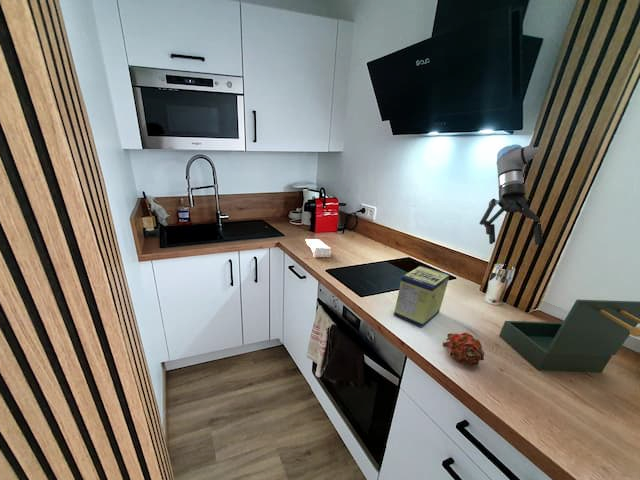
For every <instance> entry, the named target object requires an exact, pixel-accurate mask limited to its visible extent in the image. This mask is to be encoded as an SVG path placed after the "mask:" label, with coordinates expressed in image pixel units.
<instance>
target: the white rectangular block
mask: <svg viewBox="0 0 640 480" xmlns="http://www.w3.org/2000/svg"><path fill="white" fill-rule="evenodd" d="M305 244H306V245H307V246H308V247H309V249H310V250H311V252H312V256H313V258H330V257H331V255H332V250H331V247H330V246H328V245H327V244H326V243H325V242H323V241H322V240H321V239H320V238H305Z"/></svg>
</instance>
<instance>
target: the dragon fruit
mask: <svg viewBox="0 0 640 480" xmlns="http://www.w3.org/2000/svg"><path fill="white" fill-rule="evenodd" d="M445 341H446V342H445ZM445 341H442V347H443V348H447V349H448V350H450V352H449V356H450V357H451V358H454V359H457V360H458V361H459V363H462V364H465V365H467V364H470V365H471V366H473V367H475V366H479V364H480V361H485V352H484V350H483V345H482V343H481V342H480V340H479V339H477V338H475V337H474V336H473V335H472V334H471V333H468V332H465V331H463V332H462V333H461V334H460V333H456V332H455V333H453V332H450V333H448V334H447V338H446V339H445Z"/></svg>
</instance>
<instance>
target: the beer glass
mask: <svg viewBox="0 0 640 480" xmlns="http://www.w3.org/2000/svg"><path fill="white" fill-rule="evenodd" d="M503 266H504V263H495V264H494V265H493V267H492V269H491V271H490V274H489V277H488V283H487V290H486V293H485V294H484V296H483V297H482V300H483V301H484V302H485V303H487V304H489V305H493V306H501V305H502V302H503V297H504V294H505V293H506V291H507V290H508V288H509V286H510V285H511V284H512V281H513V278H514V275H515V272H516V267H514V266H512V270H505V269H502V267H503ZM500 304H501V305H500Z"/></svg>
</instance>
